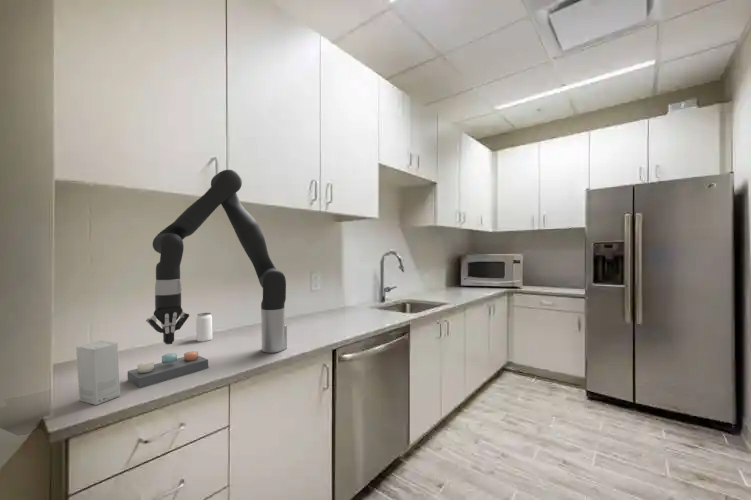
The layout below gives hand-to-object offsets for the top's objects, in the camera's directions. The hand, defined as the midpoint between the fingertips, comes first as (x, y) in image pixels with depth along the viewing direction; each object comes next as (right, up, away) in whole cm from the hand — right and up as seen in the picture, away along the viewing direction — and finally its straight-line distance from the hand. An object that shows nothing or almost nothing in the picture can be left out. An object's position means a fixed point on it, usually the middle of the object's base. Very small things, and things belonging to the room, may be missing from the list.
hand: (168, 343), depth 114 cm
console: (0, -10, 0) cm, 10 cm away
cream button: (-4, -7, -5) cm, 10 cm away
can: (-9, -10, +41) cm, 43 cm away
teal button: (0, -6, 0) cm, 6 cm away
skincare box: (-9, -11, -18) cm, 23 cm away
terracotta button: (+4, -7, +6) cm, 10 cm away
